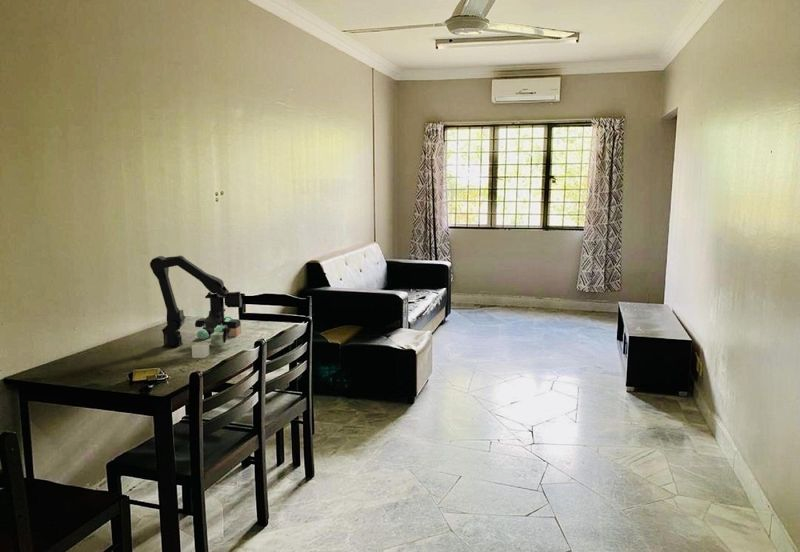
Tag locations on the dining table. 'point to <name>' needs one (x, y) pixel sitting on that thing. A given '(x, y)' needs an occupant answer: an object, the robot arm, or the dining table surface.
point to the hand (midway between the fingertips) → (218, 342)
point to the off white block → (200, 350)
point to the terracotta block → (235, 331)
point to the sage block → (217, 339)
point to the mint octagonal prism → (204, 334)
